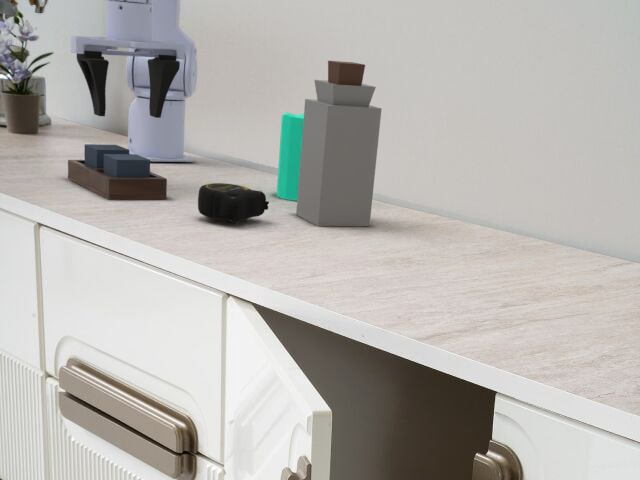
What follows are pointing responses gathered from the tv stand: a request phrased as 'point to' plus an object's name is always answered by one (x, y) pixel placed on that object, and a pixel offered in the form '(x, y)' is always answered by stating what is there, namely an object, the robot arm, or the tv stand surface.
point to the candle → (290, 156)
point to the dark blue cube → (126, 166)
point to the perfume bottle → (339, 149)
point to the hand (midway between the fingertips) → (127, 116)
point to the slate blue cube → (100, 154)
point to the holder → (117, 183)
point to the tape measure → (230, 202)
